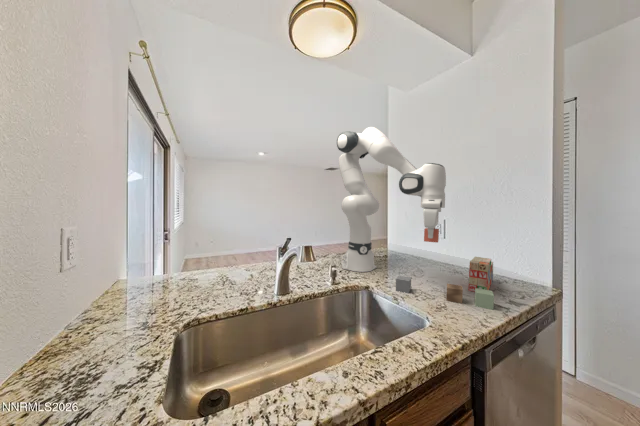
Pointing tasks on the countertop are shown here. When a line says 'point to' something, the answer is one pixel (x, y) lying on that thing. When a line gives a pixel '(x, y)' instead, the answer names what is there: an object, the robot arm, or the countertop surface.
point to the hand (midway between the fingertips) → (431, 237)
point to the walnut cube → (454, 293)
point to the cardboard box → (480, 273)
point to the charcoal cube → (403, 284)
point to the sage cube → (484, 298)
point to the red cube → (435, 236)
